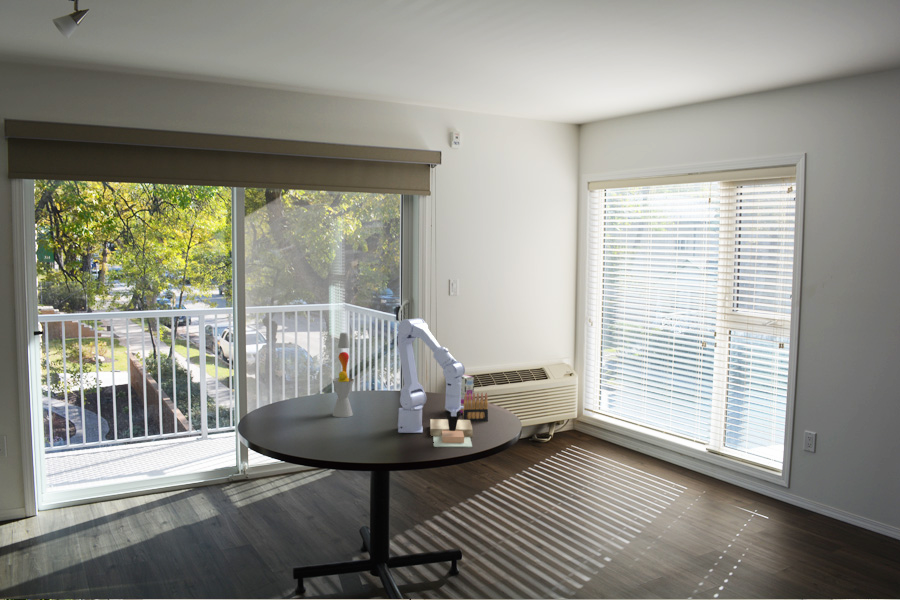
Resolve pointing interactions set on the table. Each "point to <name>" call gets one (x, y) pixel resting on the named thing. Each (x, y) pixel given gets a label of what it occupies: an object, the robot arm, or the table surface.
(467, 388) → the candy bar box
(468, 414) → the ammunition clip
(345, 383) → the lava lamp
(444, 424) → the riser
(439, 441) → the mat
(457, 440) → the peach flat block
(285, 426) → the table surface
